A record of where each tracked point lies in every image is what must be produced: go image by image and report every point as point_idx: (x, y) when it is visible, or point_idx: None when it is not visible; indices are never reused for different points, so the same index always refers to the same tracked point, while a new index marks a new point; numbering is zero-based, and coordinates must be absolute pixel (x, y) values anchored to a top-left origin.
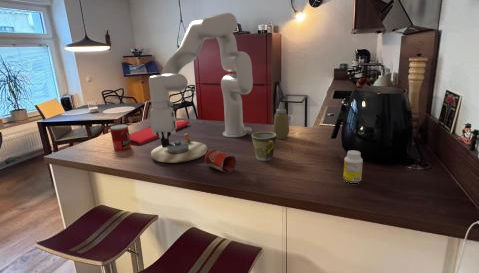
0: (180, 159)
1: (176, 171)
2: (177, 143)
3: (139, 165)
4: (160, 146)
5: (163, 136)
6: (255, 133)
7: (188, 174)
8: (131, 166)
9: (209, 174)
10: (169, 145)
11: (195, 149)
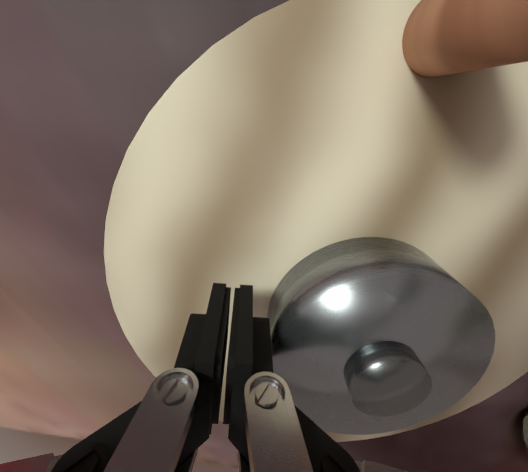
0: (388, 433)
1: (361, 447)
2: (391, 408)
3: None
4: (128, 204)
5: (204, 428)
6: None
7: (415, 463)
8: (104, 415)
9: (500, 461)
10: (302, 398)
11: (504, 293)
